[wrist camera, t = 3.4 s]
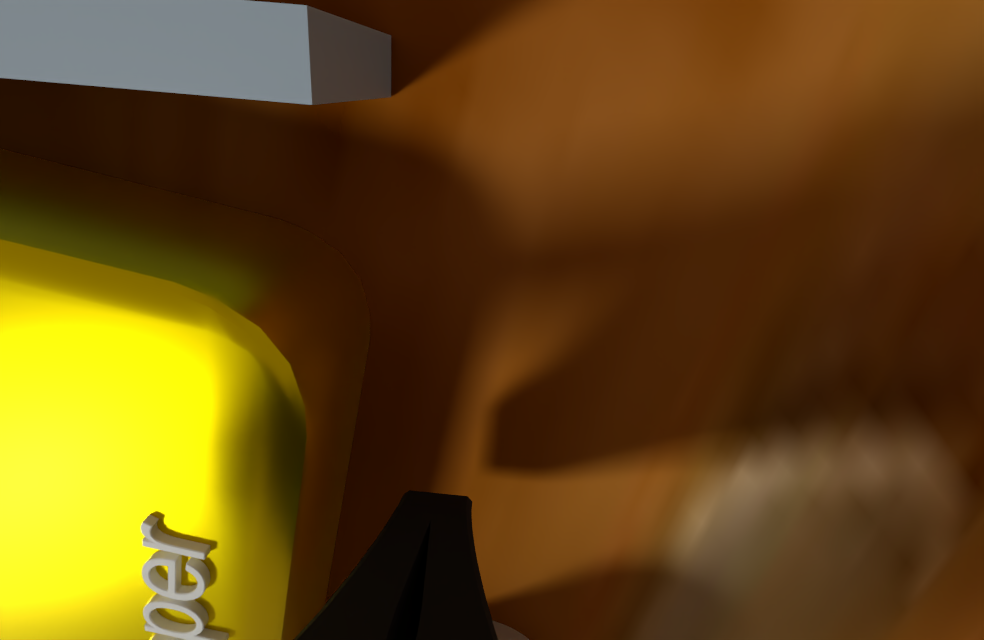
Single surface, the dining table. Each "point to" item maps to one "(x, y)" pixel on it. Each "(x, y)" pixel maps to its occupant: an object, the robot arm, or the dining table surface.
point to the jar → (507, 632)
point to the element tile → (167, 411)
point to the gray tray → (196, 48)
